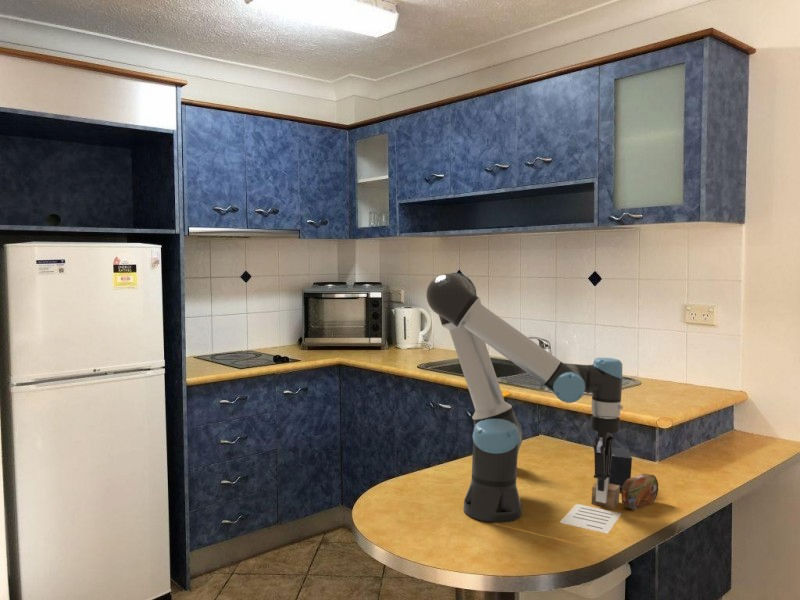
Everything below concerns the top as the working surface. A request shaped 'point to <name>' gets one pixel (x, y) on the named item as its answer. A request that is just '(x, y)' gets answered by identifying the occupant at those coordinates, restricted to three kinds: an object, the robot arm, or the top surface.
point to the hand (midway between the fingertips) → (601, 501)
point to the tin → (639, 491)
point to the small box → (620, 467)
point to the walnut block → (608, 496)
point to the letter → (591, 518)
